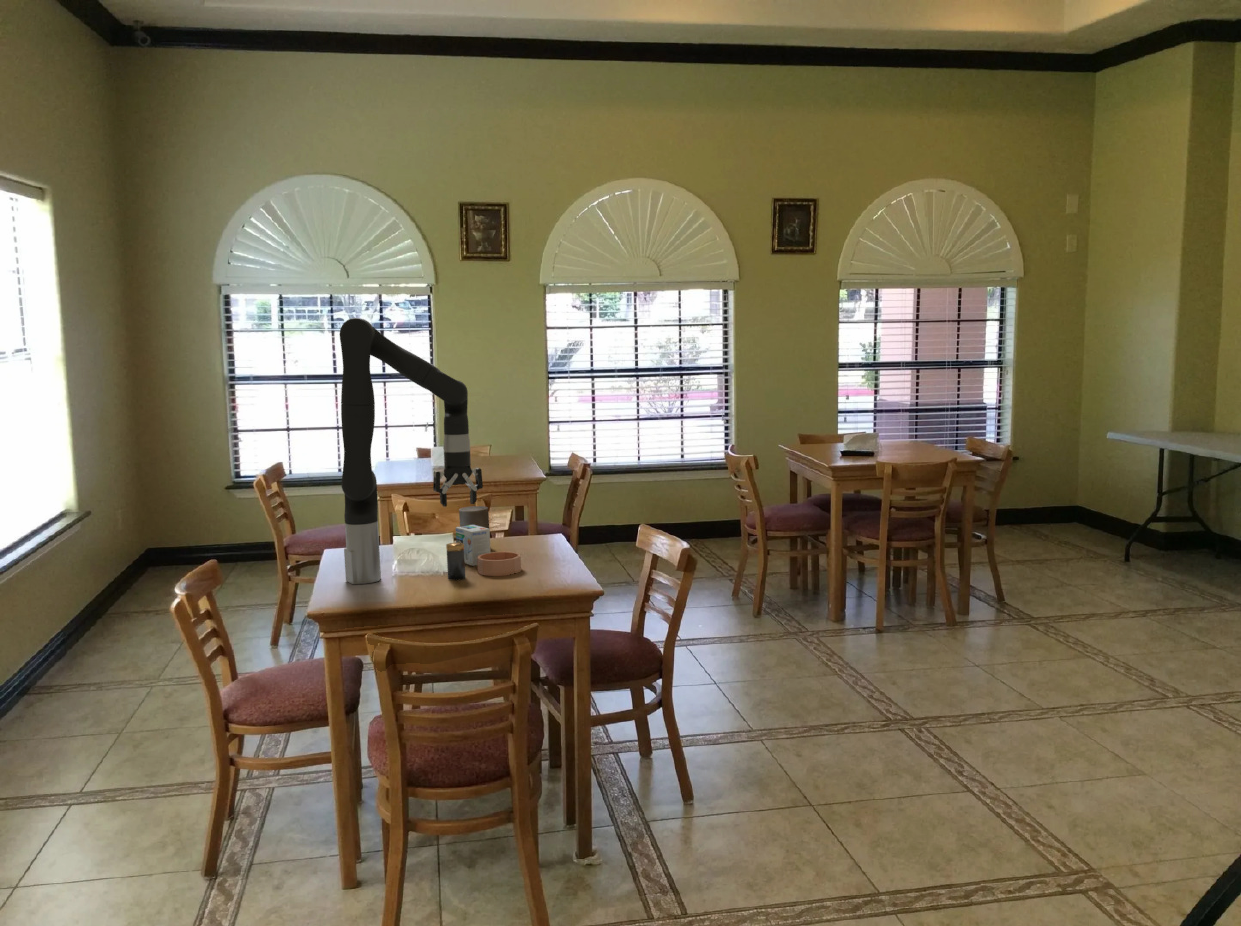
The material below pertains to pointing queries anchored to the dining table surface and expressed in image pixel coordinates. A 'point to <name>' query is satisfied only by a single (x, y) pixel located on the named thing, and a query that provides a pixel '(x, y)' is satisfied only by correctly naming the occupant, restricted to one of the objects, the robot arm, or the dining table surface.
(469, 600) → the dining table surface
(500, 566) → the pink round dish
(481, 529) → the light bulb box
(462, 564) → the black cell
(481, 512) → the pillar candle
